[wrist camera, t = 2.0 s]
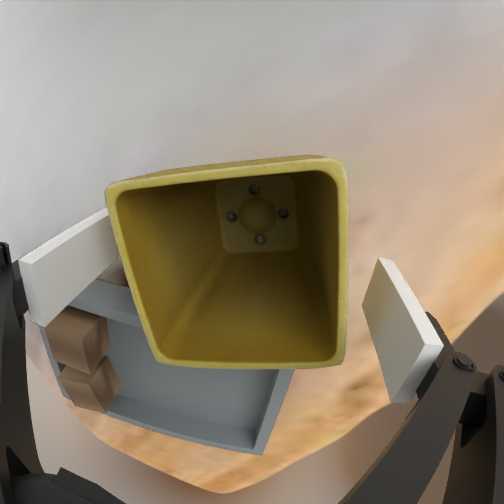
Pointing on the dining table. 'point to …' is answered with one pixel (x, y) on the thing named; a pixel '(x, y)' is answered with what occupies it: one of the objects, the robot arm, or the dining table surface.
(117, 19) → the dining table surface
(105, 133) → the dining table surface
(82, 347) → the walnut block
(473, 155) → the dining table surface
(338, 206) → the flower pot
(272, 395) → the tray
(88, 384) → the walnut block
